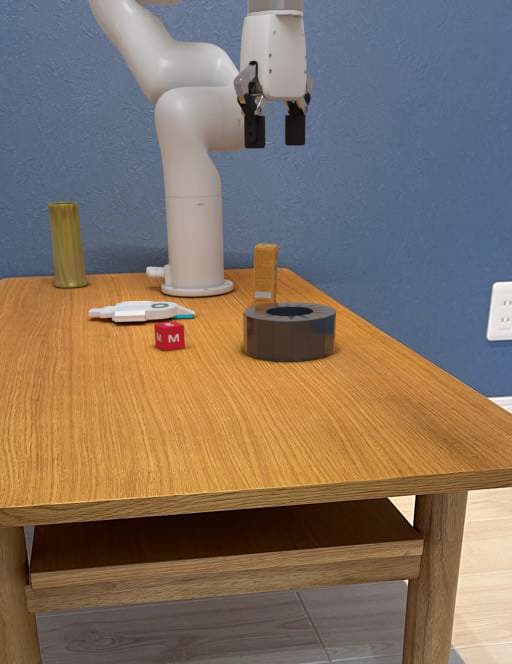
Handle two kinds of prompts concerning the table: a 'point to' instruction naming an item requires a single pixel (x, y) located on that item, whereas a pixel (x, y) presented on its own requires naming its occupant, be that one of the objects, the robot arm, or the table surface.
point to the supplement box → (265, 274)
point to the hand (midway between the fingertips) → (275, 146)
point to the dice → (169, 335)
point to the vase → (67, 245)
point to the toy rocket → (142, 311)
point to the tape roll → (289, 331)
